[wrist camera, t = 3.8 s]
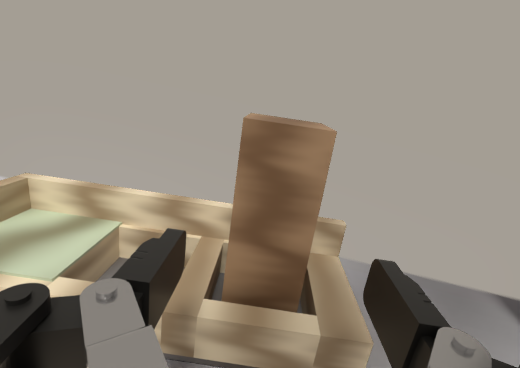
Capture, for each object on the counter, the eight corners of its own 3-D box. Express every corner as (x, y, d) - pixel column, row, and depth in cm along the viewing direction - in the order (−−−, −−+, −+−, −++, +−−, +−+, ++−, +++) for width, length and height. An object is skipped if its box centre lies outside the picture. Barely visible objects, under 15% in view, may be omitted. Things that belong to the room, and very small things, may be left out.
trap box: (327, 282, 26) (343, 220, 24) (358, 387, 17) (388, 299, 15) (33, 238, 26) (25, 172, 24) (-104, 317, 17) (-133, 220, 15)
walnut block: (287, 290, 24) (321, 123, 20) (291, 338, 19) (336, 131, 15) (229, 281, 24) (250, 112, 20) (218, 327, 19) (243, 117, 15)
